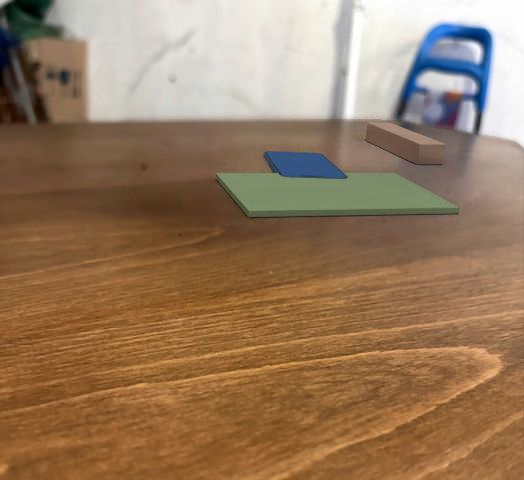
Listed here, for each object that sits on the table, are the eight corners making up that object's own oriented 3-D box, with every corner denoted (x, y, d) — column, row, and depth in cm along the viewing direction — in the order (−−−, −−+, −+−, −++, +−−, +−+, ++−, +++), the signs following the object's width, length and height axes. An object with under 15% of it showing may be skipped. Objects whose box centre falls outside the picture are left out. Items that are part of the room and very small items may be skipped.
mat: (394, 178, 73) (394, 172, 73) (458, 213, 61) (459, 207, 61) (215, 178, 68) (215, 172, 68) (248, 217, 56) (248, 210, 56)
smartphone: (321, 153, 82) (350, 178, 69) (320, 160, 83) (349, 187, 69) (262, 150, 81) (280, 176, 68) (261, 158, 82) (279, 185, 68)
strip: (365, 140, 95) (367, 122, 93) (387, 140, 96) (390, 122, 94) (416, 164, 81) (419, 143, 80) (442, 164, 82) (445, 143, 81)
